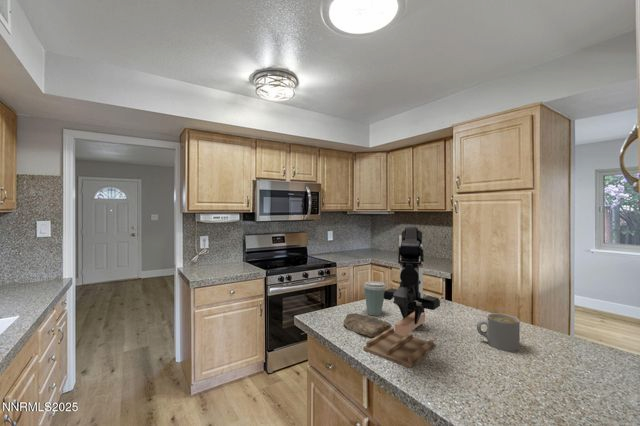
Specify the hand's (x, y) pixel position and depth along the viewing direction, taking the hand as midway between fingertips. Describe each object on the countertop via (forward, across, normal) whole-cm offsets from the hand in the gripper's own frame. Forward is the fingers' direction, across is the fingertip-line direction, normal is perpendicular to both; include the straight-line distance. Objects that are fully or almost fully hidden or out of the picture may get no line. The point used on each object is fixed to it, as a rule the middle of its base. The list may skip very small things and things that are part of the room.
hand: (410, 322), depth 104 cm
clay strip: (+2, 0, 0) cm, 2 cm away
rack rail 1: (+10, -12, 0) cm, 16 cm away
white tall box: (+11, -26, +53) cm, 60 cm away
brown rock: (+11, -24, +6) cm, 27 cm away
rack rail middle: (+10, -4, 0) cm, 11 cm away
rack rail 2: (+10, +4, 0) cm, 11 cm away
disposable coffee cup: (+11, -30, +24) cm, 40 cm away
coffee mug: (+11, +21, +27) cm, 36 cm away
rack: (+10, -4, 0) cm, 11 cm away
